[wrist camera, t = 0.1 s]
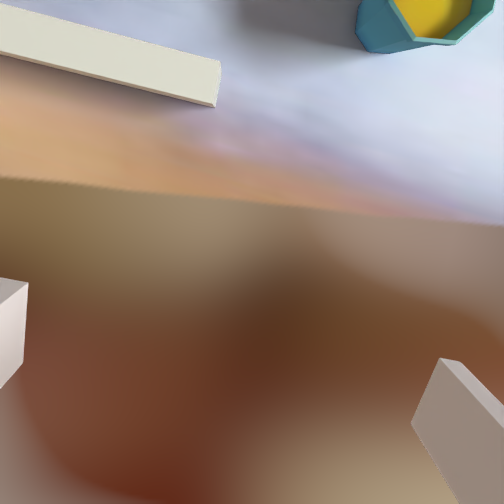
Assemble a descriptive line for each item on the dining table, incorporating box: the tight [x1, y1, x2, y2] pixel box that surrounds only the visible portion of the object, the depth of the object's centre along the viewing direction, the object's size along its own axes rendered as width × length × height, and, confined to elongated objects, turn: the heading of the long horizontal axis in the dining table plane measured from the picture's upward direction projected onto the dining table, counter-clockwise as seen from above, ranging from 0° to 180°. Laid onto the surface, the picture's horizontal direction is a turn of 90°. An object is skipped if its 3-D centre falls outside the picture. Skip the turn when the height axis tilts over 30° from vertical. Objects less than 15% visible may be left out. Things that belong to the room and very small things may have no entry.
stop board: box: [0, 3, 222, 108], centre depth 31 cm, size 3×20×7 cm, turn 77°
